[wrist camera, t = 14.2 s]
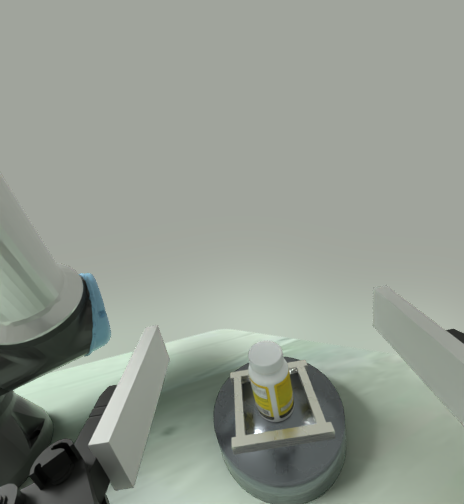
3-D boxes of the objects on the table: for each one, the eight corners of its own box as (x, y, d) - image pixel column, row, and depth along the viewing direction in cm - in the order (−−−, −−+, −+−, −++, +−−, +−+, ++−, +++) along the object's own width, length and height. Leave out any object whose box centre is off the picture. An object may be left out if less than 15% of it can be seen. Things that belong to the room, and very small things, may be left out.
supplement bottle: (291, 386, 33) (283, 335, 30) (298, 422, 28) (289, 366, 25) (255, 390, 33) (244, 340, 30) (256, 425, 29) (244, 370, 26)
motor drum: (218, 516, 25) (206, 485, 23) (221, 384, 40) (214, 360, 38) (375, 493, 24) (375, 459, 22) (318, 368, 39) (315, 342, 38)
